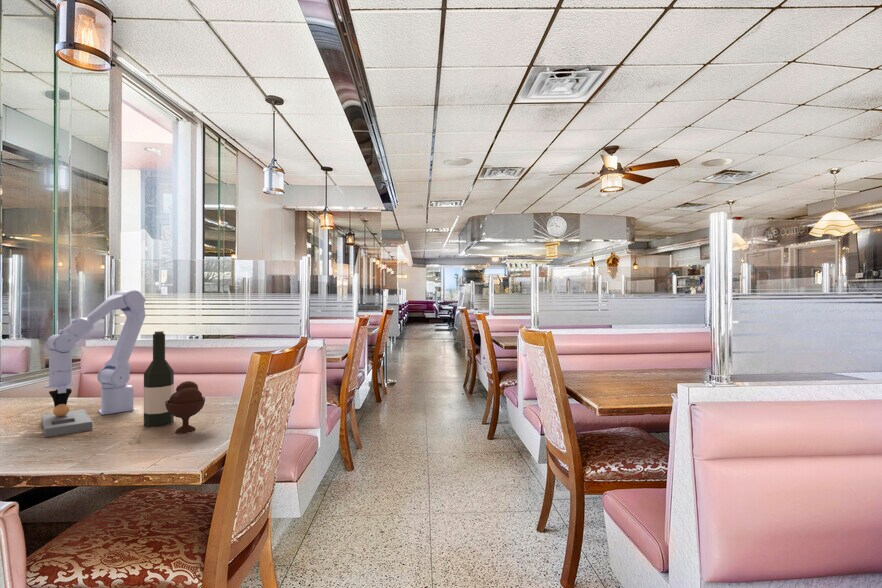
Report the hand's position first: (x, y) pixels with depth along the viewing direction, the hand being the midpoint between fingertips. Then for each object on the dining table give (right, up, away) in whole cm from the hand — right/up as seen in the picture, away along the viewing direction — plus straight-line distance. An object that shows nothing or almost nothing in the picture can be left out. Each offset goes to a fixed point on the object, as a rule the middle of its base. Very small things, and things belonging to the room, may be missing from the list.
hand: (60, 411), depth 148 cm
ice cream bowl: (+47, -3, -10) cm, 48 cm away
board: (+5, -3, -4) cm, 8 cm away
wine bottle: (+34, -4, -2) cm, 34 cm away
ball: (+2, +1, -2) cm, 3 cm away
